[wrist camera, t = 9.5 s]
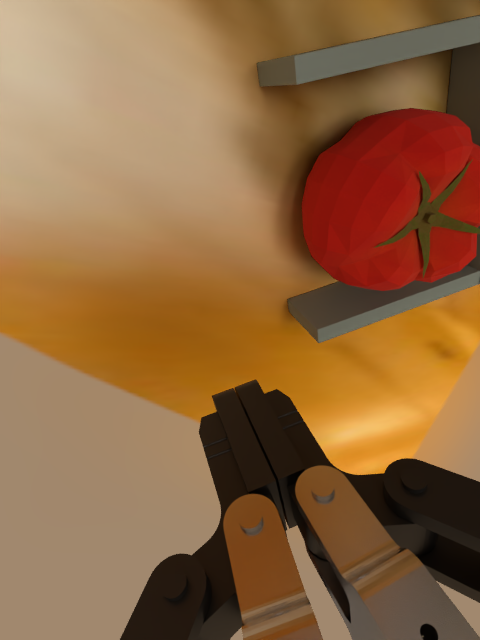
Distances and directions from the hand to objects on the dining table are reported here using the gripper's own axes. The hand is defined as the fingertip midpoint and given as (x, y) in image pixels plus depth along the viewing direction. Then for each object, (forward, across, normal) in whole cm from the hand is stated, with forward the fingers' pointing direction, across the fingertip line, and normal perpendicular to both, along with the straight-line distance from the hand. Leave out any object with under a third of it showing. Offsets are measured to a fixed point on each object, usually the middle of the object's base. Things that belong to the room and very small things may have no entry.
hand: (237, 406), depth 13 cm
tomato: (+17, -14, +1) cm, 22 cm away
